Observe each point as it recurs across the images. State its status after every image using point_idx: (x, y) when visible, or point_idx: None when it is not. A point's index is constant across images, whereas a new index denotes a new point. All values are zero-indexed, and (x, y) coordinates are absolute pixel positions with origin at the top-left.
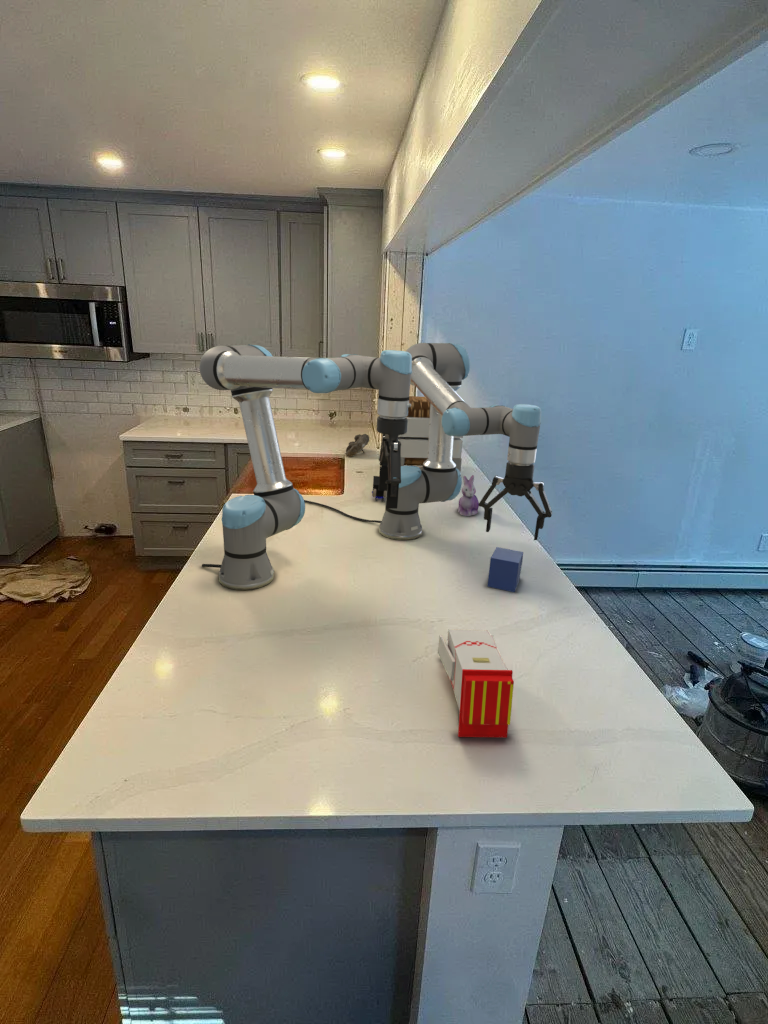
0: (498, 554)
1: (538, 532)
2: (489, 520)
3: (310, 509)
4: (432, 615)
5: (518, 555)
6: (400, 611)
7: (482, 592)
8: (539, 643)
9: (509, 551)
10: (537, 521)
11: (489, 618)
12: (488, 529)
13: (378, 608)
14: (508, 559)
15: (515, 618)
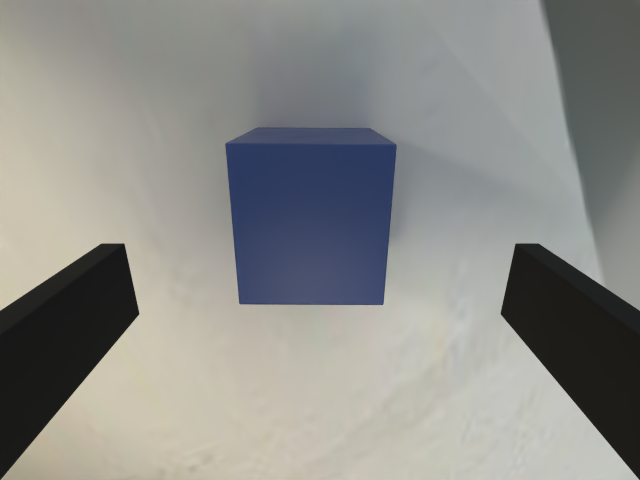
0: (265, 249)
1: (566, 263)
2: (73, 391)
3: None
4: (180, 448)
5: (372, 214)
6: (102, 459)
7: None
8: (447, 458)
9: (314, 179)
10: (636, 462)
11: (317, 410)
12: (125, 326)
13: (49, 466)
14: (328, 286)
15: (383, 386)
